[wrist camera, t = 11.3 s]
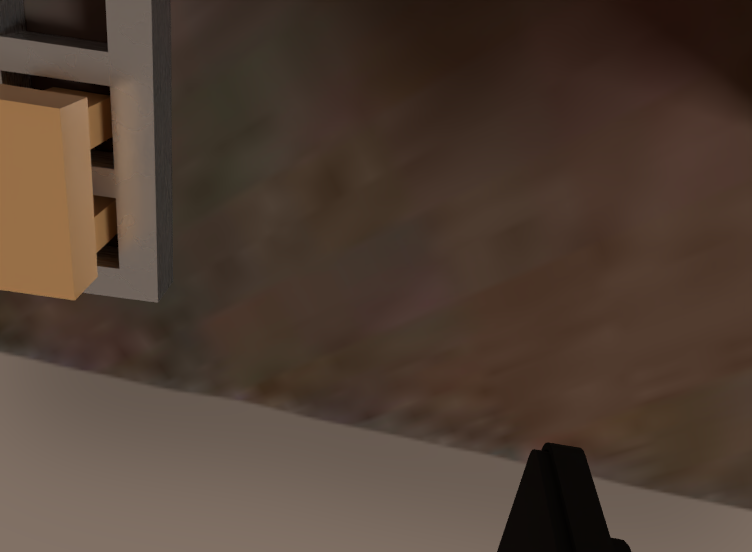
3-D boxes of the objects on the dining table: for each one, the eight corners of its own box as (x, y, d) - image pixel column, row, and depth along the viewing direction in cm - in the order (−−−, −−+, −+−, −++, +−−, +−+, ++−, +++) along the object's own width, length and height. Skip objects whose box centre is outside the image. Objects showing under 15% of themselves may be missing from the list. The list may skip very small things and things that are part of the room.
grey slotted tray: (167, -236, 25) (145, -256, 23) (172, 281, 36) (157, 302, 34) (-57, -273, 25) (-101, -297, 23) (16, 260, 36) (-10, 280, 33)
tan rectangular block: (122, 82, 31) (59, 108, 25) (128, 245, 35) (74, 300, 29) (42, 69, 31) (-41, 93, 25) (56, 234, 35) (-12, 288, 29)
